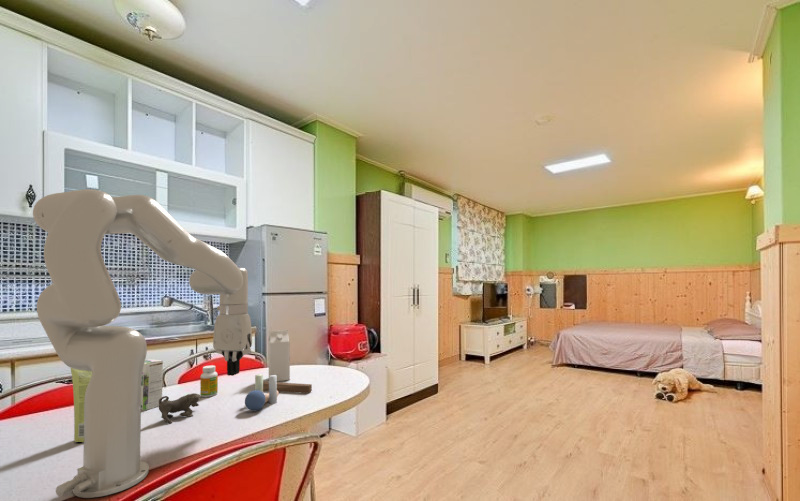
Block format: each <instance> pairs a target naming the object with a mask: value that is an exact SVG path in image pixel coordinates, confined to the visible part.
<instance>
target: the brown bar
mask: <svg viewBox="0 0 800 501" xmlns="http://www.w3.org/2000/svg"><path fill="white" fill-rule="evenodd" d="M277 390H278V392H282V393H296V392H301V393H300V394H310V393H312V392H311V391H313V390H312V383H296V382H295V383H293V382H281V381H277ZM263 391H266V392H267V391H268V392H269V381H263Z"/></svg>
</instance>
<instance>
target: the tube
mask: <svg viewBox="0 0 800 501" xmlns="http://www.w3.org/2000/svg"><path fill="white" fill-rule="evenodd" d="M70 372H71V379H72V380H71V381H72V392H73V394H72V395H73V418H74V419H73V420H74V421H73V423H74V425H73V426H74V428H73V429H74V431H73V432H74V434H73V436H74V438H73V440H74V442H75V443H76V442H82V443H84V400H85V393H86V389H87V387H88V384H89V382H90V379H91V376H92V372H91V371H82V370H77V369H73V368H71V367H70Z"/></svg>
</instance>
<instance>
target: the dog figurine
mask: <svg viewBox="0 0 800 501" xmlns="http://www.w3.org/2000/svg"><path fill="white" fill-rule="evenodd" d="M200 397H201V395H200V393H188V394H186V395H183V396H181V397H179V398H177V399H175V400H169V399H170V398H169V396H167V395H165V396H164V395H163V396H162V398H160V399H159V406H158V410H159V412H160V414H161V416H160V417H161V419H163V420H164V421H165V422H167V423H168V424H173V420H171V419H170V418H173V417H174V415H173V414H176V413H179V412H180V413H179V416H182V417H188V418H189V417H193V416H194V414H193V409H191V408H190V407H192V408H195V407H199V406H200V405H199V403H198V402H199V401H200Z"/></svg>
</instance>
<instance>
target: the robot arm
mask: <svg viewBox="0 0 800 501" xmlns="http://www.w3.org/2000/svg"><path fill="white" fill-rule="evenodd" d="M32 217H33V220H34V222H35V223H36V224H37V226H38V227H39V228H41V229H42V230H43V231H45V232H47V233H48V234H47V237H46V239H45V242H44V247H43V259H44V263H45V268H46V269H47V272H48V274H49V277H50V279H51V282H52V283H51V284H50V285H48V286H47V287H46V288H45V287H44V289H43V290H42V291H41V293H40V294H39V296H38V299H37V302H36V313H37V317H38V319H39V322H40V323H41V326H42V328H43V330H44V331H45V334H46V335H47V337H48V339H49V342H50V343H51V345H52V347H53V349H54V351H55V353H56V354H57V356H58V357H59V359H60V360H61V361H62V363H63V364H64V365H66V366H67V367H69V368H70V369H71V368H73V369H77V370H82V371H91V372H92V376H91V379H90V382H89V384H88V387H87V389H86V393H85V400H84V442H83V456H82V457H83V463H82V464H83V465H82V466H81V467H79V468H77V474H76V475H74V476H73V477H72V479H70V480H67V481H66V482H63V483H61V484H59V485H58V486H57V487H56V488H55V493H56V496H58V497H62V496H64V495H67V494H68V493H69V492H72V493H74V494H75V495H74V494H73V495H74V496H76V497H78V498H84V499H92V498H100V497H107V496H110V495H114V494H118V493H119V492H122V491H124V490H127V489H130V488H131V487H134V486H135V485H137V484H139V483H140V482H141V481H143V480H144V479H145V478H146V477H147V475H148V474H149V470H150V468H149V464H148V462H145V461H142V460H141V437H142V436H141V434H142V433H141V426H142V424H141V423H142V421H141V420H142V419H141V418H142V415H141V414H142V410H141V381H142V372H143V367H144V363H145V360H147V359H146V357H147V352H148V345H147V340H146V338H145V337H144V336H143V334H142V333H141V332H139V331H137V330H136V329H134V328H131V327H127V326H120V325H119V326H118V325H117V326H116V325H108V324H111V323H112V322H113V321H115V320H116V319H117V318H118V317H119V315H120V313H121V309H122V304H121V299H120V296H119V294H118V291H117V289H116V287H115V285H114V282H113V280H112V277H111V276H110V274H109V271H108V268H107V266H106V263H105V261H104V258H103V254H102V243H103V240H104V237H105V235H114V234H115V235H116V234H132V235H133V236H135V237H136V238H137V239H139V241H141V242H142V243H143V244H144V245H146V246H147V248H149V249H150V250H152V252H153V253H154V254H156V255H157V256H158V257H159V258H161V259H162V260H163V261H166V262H168V263H170V264H174V265H177V266H182V267H185V268H189V269H193V270H194V271H193V272H192V273H191V275H190V276H189V279H188V284H189V286H190V288H191V290H192V291H194V292H195V293H197V294H200V295H219V305H217V307H216V311H218V312H219V314H218V315H216V319H215V321H214V328H213V339H212V340H213V341H212V348H213V349H214V351H215V352H216V354H220V355H222V356H223V357H224V361H225V362H226V375H227V376H228V377H229V376H233V377H234V376H235V375H238V374H240V368H241V365H240V361H241V360H242V359H243V358H242V357H244V356H246V355H250V354H251V353H252V350H251V347H252V346H253V331H252V321H251V317H250V314H248V309H249V308H248V305H249V304H248V302H249V301H248V300H249V298H248V297H249V296H248V295H249V294H248V293H249V292H248V290H249V289H248V287H249V285H248V283H249V280H248V278H249V276H248V270H247V269H246V268H244V267H239V266H237V264H236V263H235V262H234V261H233V260H232V259H231V258H230V257H229V256H228V255H227V254H226V253H224V252H223V251H221V250H220V249H218V248H216V247H214V246H212V245H211V244H209V243H206V242H205V241H202V240H201V239H198V238H197V237H194V236H192V235H191V234H190V233H189V232H188V231H187V230H186V229H185V228H184V227H182V225H181V224H180V223H179V222H177V220H176V219H175V218H174V217H173V216H172V215H171V214H170V213H169V212H167V210H166V209H165V208H164V207H163V206H162V204H160V203H159V202H158V201H157V200H155V199H154V198H152V197H150V196H149V195H144V194H130V195H122V196H113V197H112V196H111V195H110V194H109V193H107V192H105V191H103V190H99V189H91V188H90V189H89V188H88V189H87V188H85V189H77V190H71V191H70V190H69V191H63V192H62V191H61V192H56V193H52V194H50V193H49V194H47V195H45V196H43V197H40V198H39V199H38V201H36V203H35V204H34V205H33V209H32Z"/></svg>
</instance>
